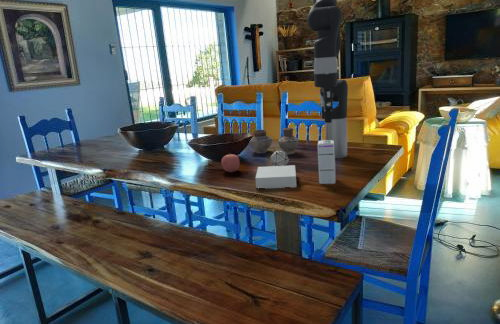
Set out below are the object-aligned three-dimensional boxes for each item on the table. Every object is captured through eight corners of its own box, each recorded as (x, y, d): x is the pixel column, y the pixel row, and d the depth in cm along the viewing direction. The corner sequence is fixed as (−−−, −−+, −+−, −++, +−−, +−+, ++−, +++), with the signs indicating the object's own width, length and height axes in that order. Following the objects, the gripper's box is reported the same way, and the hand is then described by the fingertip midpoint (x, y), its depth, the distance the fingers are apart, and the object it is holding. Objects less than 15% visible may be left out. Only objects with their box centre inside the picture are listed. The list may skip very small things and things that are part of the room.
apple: (233, 175, 147) (232, 155, 145) (219, 173, 151) (217, 154, 149) (243, 170, 153) (242, 151, 151) (229, 168, 157) (227, 150, 155)
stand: (258, 176, 142) (258, 166, 141) (295, 175, 141) (294, 165, 140) (256, 188, 129) (255, 177, 128) (296, 187, 128) (295, 176, 127)
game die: (276, 176, 153) (266, 156, 156) (294, 168, 153) (284, 147, 156) (274, 172, 145) (263, 150, 147) (293, 163, 144) (282, 141, 147)
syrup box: (335, 183, 128) (335, 143, 124) (318, 184, 129) (317, 143, 125) (335, 178, 133) (334, 139, 130) (318, 179, 134) (317, 140, 131)
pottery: (295, 156, 169) (294, 130, 166) (246, 154, 180) (244, 130, 177) (302, 150, 179) (301, 126, 176) (255, 149, 190) (253, 126, 186)
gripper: (312, 72, 129) (313, 118, 133) (316, 73, 115) (317, 124, 119) (334, 70, 128) (334, 117, 132) (340, 71, 114) (341, 123, 118)
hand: (326, 120), depth 126 cm, fingers open, 8 cm apart
